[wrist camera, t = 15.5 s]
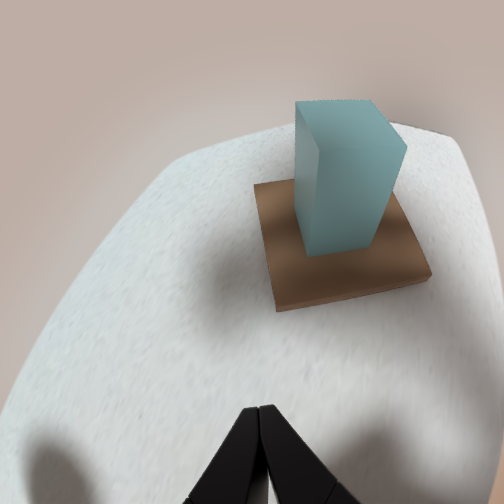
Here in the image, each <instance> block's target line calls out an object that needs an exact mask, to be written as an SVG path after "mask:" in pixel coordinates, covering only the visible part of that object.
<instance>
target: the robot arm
mask: <svg viewBox="0 0 504 504" xmlns="http://www.w3.org/2000/svg"><path fill="white" fill-rule="evenodd" d="M268 472H269V474H268ZM269 476H270V480H271V484H272V487H273V491H274V494H275V498H276V501H277V504H362V503H361V502H360V501H359V500H358V499H357V498H356V497H354V496H353V495H352V494H351V493H350V492H349V491H348V490H347V489H346V488H345V487H344V485H343V484H342V483H341V482H338V479H337V478H336V477H335V476H334V475H333V474H332V473H331V472H330V471H329V469H328V468H327V467H326V466H325V465H324V464H323V463H322V462H321V460H320V459H319V458H318V457H317V456H316V455H315V454H314V452H313V451H312V450H311V449H310V448H309V447H308V445H307V444H306V443H305V442H304V441H303V440H302V438H301V437H300V436H299V435H298V434H297V432H296V431H295V430H294V429H293V428H292V426H291V425H290V424H289V423H288V421H287V420H286V419H285V418H284V416H283V415H282V414H281V413H280V411H279V410H278V409H277V408H276V406H275V405H273V404H271V405H264V406H260V407H259V408H258V407H249V408H244V409H243V410H242V411H241V413H240V415H239V416H238V418H237V420H236V421H235V423H234V425H233V426H232V428H231V430H230V431H229V433H228V435H227V436H226V438H225V440H224V441H223V443H222V444H221V446H220V448H219V449H218V451H217V452H216V454H215V456H214V457H213V459H212V460H211V462H210V464H209V465H208V467H207V468H206V470H205V471H204V473H203V474H202V476H201V477H200V479H199V480H198V482H197V483H196V485H195V486H194V488H193V489H192V491H191V492H190V494H189V495H188V497H189V498H186V499H185V501H184V502H183V504H268V488H269Z"/></svg>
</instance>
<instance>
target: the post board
mask: <svg viewBox="0 0 504 504" xmlns="http://www.w3.org/2000/svg"><path fill="white" fill-rule="evenodd" d="M294 181H295V179H290V180H282V181H275V182H268V183H261V184H254V192H255V197H256V203H257V208H258V213H259V219H260V224H261V229H262V235H263V240H264V245H265V251H266V256H267V262H268V267H269V273H270V278H271V284H272V289H273V295H274V300H275V306H276V312H281V311H287V310H292V309H298V308H304V307H309V306H315V305H320V304H325V303H330V302H335V301H340V300H345V299H350V298H355V297H360V296H364V295H369V294H373V293H378V292H382V291H386V290H391V289H395V288H399V287H403V286H407V285H411V284H415V283H419V282H423V281H427V280H428V279H429V278H430V276H431V275H432V272H431V270H430V268H429V265H428V263H427V261H426V258H425V256H424V254H423V251H422V249H421V247H420V245H419V243H418V240H417V238H416V236H415V234H414V232H413V230H412V228H411V226H410V224H409V222H408V220H407V218H406V216H405V214H404V212H403V210H402V208H401V206H400V204H399V202H398V200H397V199H396V197H395V195H394V193H393V191H392V193H391V195H390V198H389V200H388V203H387V206H386V208H385V211H384V213H383V216H382V218H381V221H380V223H379V226H378V228H377V230H376V233H375V235H374V237H373V240H372V242H371V244H370V247H369V248H364V249H358V250H352V251H346V252H339V253H333V254H326V255H320V256H313V257H307V255H306V251H305V247H304V243H303V239H302V236H301V232H300V228H299V224H298V220H297V217H296V213H295V209H294Z"/></svg>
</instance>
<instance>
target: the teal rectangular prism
mask: <svg viewBox="0 0 504 504" xmlns="http://www.w3.org/2000/svg"><path fill="white" fill-rule="evenodd" d="M295 104H296V115H295V116H296V117H295V118H296V120H295V181H294V209H295V213H296V217H297V220H298V224H299V228H300V232H301V236H302V239H303V243H304V247H305V251H306V255H307V257H313V256H320V255H326V254H333V253H339V252H346V251H352V250H358V249H364V248H369V247H370V244H371V242H372V240H373V237H374V235H375V233H376V230H377V228H378V226H379V223H380V221H381V218H382V216H383V213H384V211H385V208H386V206H387V203H388V200H389V198H390V195H391V193H392V190H393V187H394V184H395V182H396V179H397V176H398V173H399V170H400V168H401V165H402V162H403V159H404V156H405V153H406V150H407V145H406V144H405V142H404V141H403V140H402V138H401V137H400V136H399V134H398V133H397V132H396V131H395V129H394V128H393V127H392V125H391V124H390V123H389V122H388V120H387V119H386V118H385V117H384V116H383V114H382V113H381V112H380V111H379V110H378V108H377V107H376V106H375V105H374V104H373V103H372V101H371V100H320V101H319V100H318V101H300V102H296V103H295Z"/></svg>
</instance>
